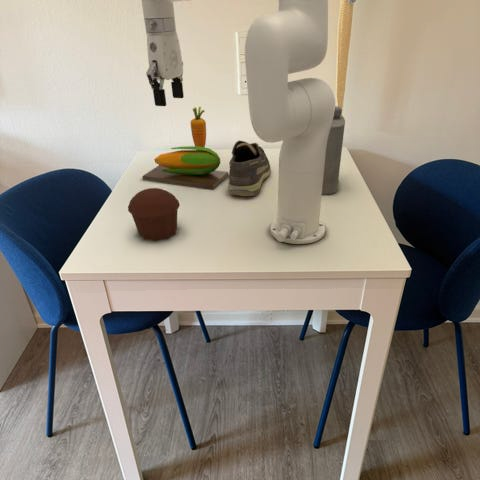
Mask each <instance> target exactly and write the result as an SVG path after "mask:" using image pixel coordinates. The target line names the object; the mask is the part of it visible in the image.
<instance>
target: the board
mask: <svg viewBox="0 0 480 480" xmlns="http://www.w3.org/2000/svg"><path fill="white" fill-rule="evenodd" d="M163 169H170V168H166V167H163V166H161V165H156V166H155V167H154V168H152V169H151V170H150V171H148V172H146V173H145V174H143V175H142V181H149V182H157V183H162V184H171V185H177V186H186V187H191V188H199V189H207V190H214V189H216V187H218V186H219V185H220V184H221V183H222V182H223V181H224V180H226V179H227V178H229V171H224V170H217V169H216V170H215V171H213V172H211V173H209V174H207V175H181V174H172V173H168V172H164V171H162V170H163Z"/></svg>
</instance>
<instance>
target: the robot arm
mask: <svg viewBox="0 0 480 480" xmlns="http://www.w3.org/2000/svg"><path fill="white" fill-rule="evenodd" d="M185 1H190V0H141V6H142V7H141V8H142V13H143V22H144V28H145V29H144V30H145V35H146V48H147V49H146V50H147V59H148V61H147V62H148V68H147V70H146V73H145V74H146V75H145V76H146V77H147V80H148V84H149V85H150V89H151V90H152V94H153V100H154V105H155V107H166V106H167V98H166V91H165V88H164V84H165V80H166V81H170V80H171V82H170V86H171V93H172V98H173V99H183V98H184V97H185V95H184V87H183V86H184V85H183V81H184V78H183V74H184V61H183V57H182V51H181V45H180V40H179V35H178V33H177V27H176V15H175V7H174V3H177V2H185ZM328 43H329V0H278V11H269V12H266V13H262V14H261V15H259V16H257V17H256V18H255V19H254V20H253V21H252V23H251V24H250V26H249V28H248V30H247V34H246V37H245V43H244V64H245V74H246V75H245V77H246V90H247V100H248V111H249V119H250V123H251V126H252V129H253V131H254V133H255V135H256V136H257V138H258V139H260V140H261V141H263V142H264V143H273V144H274V143H279V142H281V145H280V148H279V154H278V155H279V157H278V187H277V218H276V219H275V220H274V221H273V222H272V223H271V224H270V227H269V229H270V234H271V236H272V237H274V238H275V239H276V240H277V241H278V242H281V243H286V244H292V245H305V244H311V243H315V242H318V241H320V240H321V239H323V237H324V236H325V233H326V226H325V224H324V223H323V222H322V221H320V217H321V205H322V195H323V194H322V185H323V174H324V165H325V155H326V147H327V140H328V136H329V131H330V128H331V124H332V121H333V117H334V111H335V106H336V98H335V94H334V91H333V89H332V88H331V86H330V85H329V84H328V83H327V82H326V81H324V80H322V79H320V78H318V77H317V78H316V77H306V78H300V79H296V80H291V81H289V75H292V74H295V73H301V72H305V71H309V70H312V69H314V68H316V67H318V66H319V65H321V64H322V62H323V61H324V60H325V58H326V56H327V51H328Z"/></svg>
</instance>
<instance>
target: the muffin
mask: <svg viewBox="0 0 480 480" xmlns="http://www.w3.org/2000/svg"><path fill="white" fill-rule="evenodd" d="M180 206H181V204H180V201H179V200H178V198H177V197H176V196H175V194H173V193H171V192H169V191H168V190H165V189H162V188H158V187H149V188H145V189H142V190H140V191H138V192H137V193H136V194H134V196H132V197H131V199H130V201H129V203H128V206H127V211H128V212H129V213H130V215H131V217H132V219H133V222H134V225H135V227H136V230H137V233H138V235H139V236H140V237H141V238H142V239H143V240H146V241H153V242H158V241H162V240H163V241H164V240H168V239H170V238H171V237H173V236H175V235H176V232H177V230H178V209H179V208H180Z"/></svg>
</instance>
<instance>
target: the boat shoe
mask: <svg viewBox="0 0 480 480" xmlns="http://www.w3.org/2000/svg"><path fill="white" fill-rule="evenodd" d="M231 154H232V157H231V158H230V160H229V163H228V165H229V171H228V175H229V176H228V183H227V184H228V185H227V191H228V194H229V195H231V196H240V197H253V196H256V195H258V194H259V193H260V191H261V186H262V183H263V182H264V181H265V180H266V179H267V178H269V177H270V174H271V165H270V160H269V158H268V156H267V154H266V152H265V150H264V149H263V147H262V146H259V144H258V143H257V142H251V143H249V142H247V141H245V140H237V141H236V142H235V143H234V145H233V148H232V150H231Z"/></svg>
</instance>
